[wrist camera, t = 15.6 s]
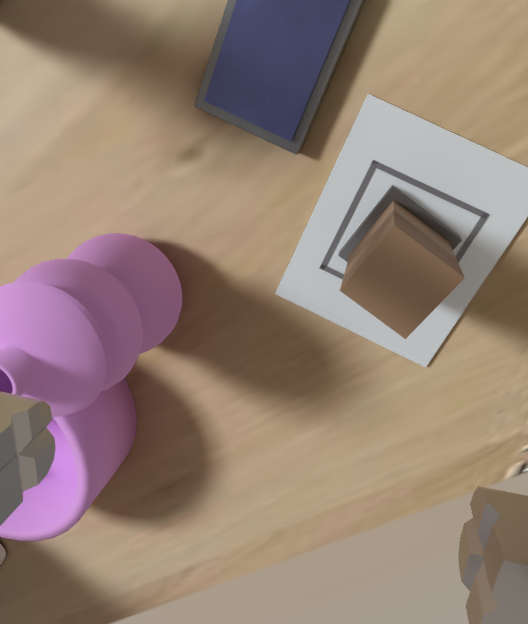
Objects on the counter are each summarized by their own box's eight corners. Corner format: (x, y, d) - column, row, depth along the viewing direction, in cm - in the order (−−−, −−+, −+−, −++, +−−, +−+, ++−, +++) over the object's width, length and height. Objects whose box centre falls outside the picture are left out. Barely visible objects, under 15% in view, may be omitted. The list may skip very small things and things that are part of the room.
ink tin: (299, 153, 27) (295, 155, 25) (201, 106, 27) (192, 106, 26) (369, -10, 23) (368, -17, 22) (254, -62, 23) (248, -71, 22)
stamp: (403, 297, 28) (406, 352, 22) (339, 250, 28) (325, 292, 22) (459, 236, 26) (481, 276, 20) (392, 184, 26) (392, 209, 20)
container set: (74, 508, 42) (-51, 666, 30) (-68, 389, 41) (-258, 506, 29) (262, 324, 31) (184, 457, 19) (78, 155, 30) (-128, 185, 18)
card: (425, 365, 30) (425, 367, 29) (275, 292, 30) (274, 294, 30) (551, 178, 24) (553, 179, 24) (368, 93, 25) (367, 93, 25)
